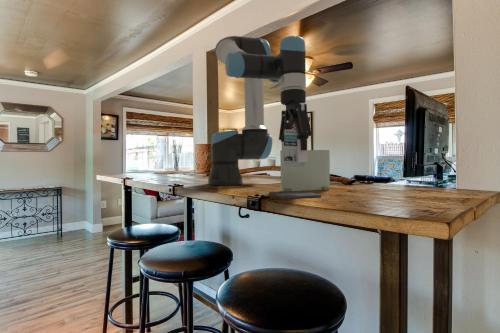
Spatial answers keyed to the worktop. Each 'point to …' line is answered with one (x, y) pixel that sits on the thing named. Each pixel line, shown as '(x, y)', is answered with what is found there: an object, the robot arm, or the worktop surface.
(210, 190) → the worktop surface
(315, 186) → the screen
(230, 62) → the robot arm
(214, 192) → the worktop surface
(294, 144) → the light bulb box
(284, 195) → the mat
